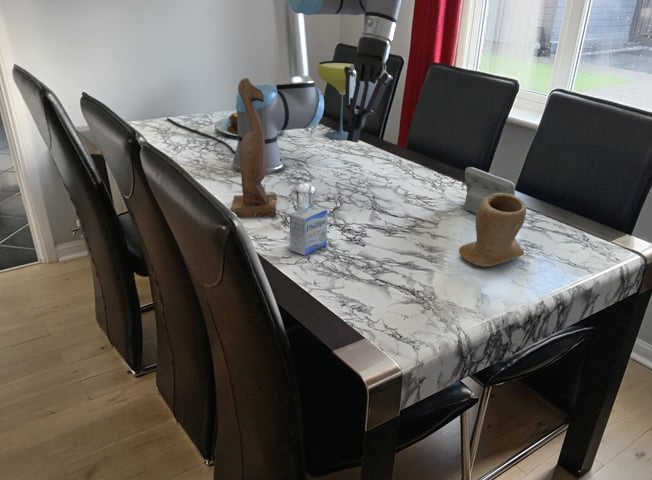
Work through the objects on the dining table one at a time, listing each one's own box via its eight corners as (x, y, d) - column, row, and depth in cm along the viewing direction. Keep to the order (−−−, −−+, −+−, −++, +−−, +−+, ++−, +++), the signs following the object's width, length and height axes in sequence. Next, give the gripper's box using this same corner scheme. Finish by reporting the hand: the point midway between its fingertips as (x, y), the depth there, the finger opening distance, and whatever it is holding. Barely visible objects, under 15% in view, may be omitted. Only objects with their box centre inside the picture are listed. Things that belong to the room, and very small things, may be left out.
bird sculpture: (279, 218, 143) (277, 83, 127) (231, 218, 141) (223, 82, 126) (276, 201, 153) (275, 74, 137) (231, 202, 151) (225, 73, 135)
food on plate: (293, 127, 221) (294, 110, 218) (271, 144, 200) (271, 125, 197) (232, 120, 226) (231, 103, 222) (203, 135, 204) (202, 117, 201)
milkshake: (301, 225, 140) (301, 186, 135) (292, 217, 144) (292, 179, 139) (318, 223, 142) (319, 184, 137) (309, 215, 146) (310, 177, 141)
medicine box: (304, 256, 125) (305, 219, 121) (289, 250, 127) (289, 213, 123) (327, 245, 131) (328, 209, 127) (312, 239, 133) (312, 204, 129)
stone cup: (487, 277, 121) (499, 211, 114) (450, 255, 130) (460, 191, 122) (537, 263, 128) (552, 199, 121) (499, 242, 137) (511, 182, 130)
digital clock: (518, 221, 150) (526, 181, 145) (490, 225, 146) (498, 185, 141) (480, 199, 162) (486, 162, 157) (454, 203, 159) (459, 165, 154)
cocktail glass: (335, 127, 225) (338, 59, 213) (374, 136, 216) (379, 65, 204) (306, 135, 212) (307, 63, 200) (345, 145, 203) (349, 70, 191)
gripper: (344, 32, 135) (322, 134, 140) (390, 38, 128) (365, 145, 134) (362, 41, 141) (340, 138, 147) (406, 47, 134) (382, 148, 140)
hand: (352, 141), depth 140 cm, fingers closed
